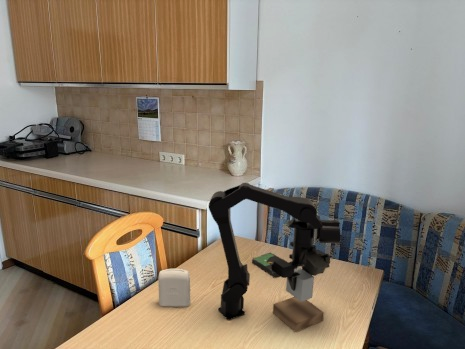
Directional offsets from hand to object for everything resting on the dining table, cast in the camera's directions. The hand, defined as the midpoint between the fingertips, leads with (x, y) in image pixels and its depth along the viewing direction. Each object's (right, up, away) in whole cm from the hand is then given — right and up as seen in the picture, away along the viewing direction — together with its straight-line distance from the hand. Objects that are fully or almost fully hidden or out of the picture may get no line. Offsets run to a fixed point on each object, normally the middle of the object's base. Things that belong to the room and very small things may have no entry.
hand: (299, 288), depth 109 cm
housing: (0, -2, 0) cm, 2 cm away
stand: (0, -10, +2) cm, 10 cm away
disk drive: (-4, -3, +34) cm, 34 cm away
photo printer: (-40, -8, +7) cm, 41 cm away
